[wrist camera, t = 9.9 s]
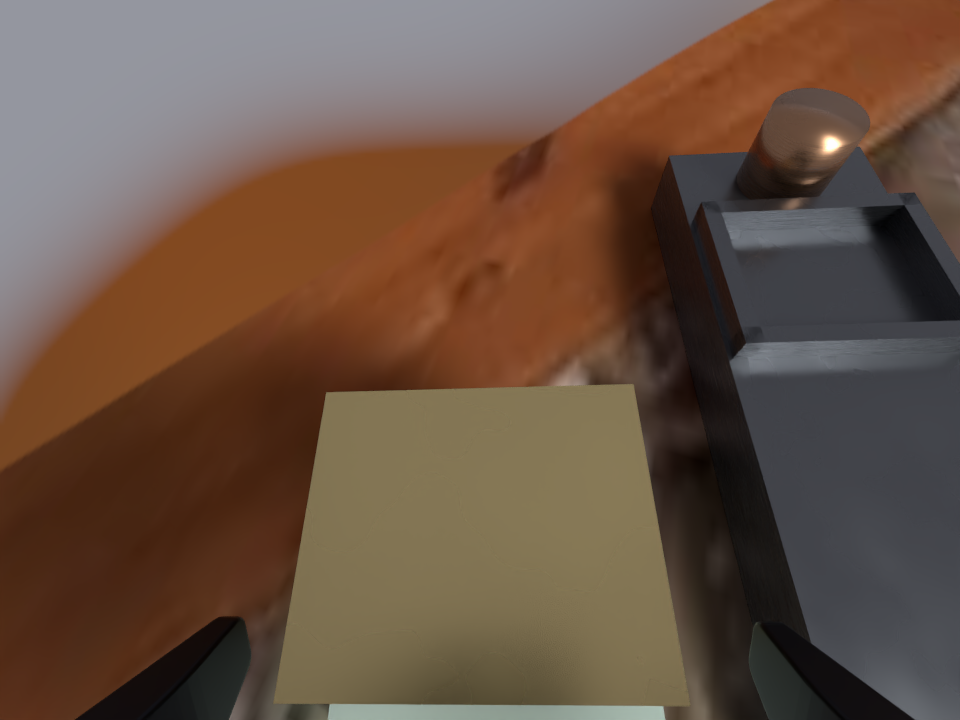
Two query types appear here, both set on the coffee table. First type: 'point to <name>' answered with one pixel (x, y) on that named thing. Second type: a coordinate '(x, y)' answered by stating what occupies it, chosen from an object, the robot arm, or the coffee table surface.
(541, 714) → the sage mat
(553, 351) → the coffee table surface
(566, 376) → the coffee table surface
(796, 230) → the plane body
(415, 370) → the coffee table surface
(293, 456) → the coffee table surface
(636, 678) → the lever cap
